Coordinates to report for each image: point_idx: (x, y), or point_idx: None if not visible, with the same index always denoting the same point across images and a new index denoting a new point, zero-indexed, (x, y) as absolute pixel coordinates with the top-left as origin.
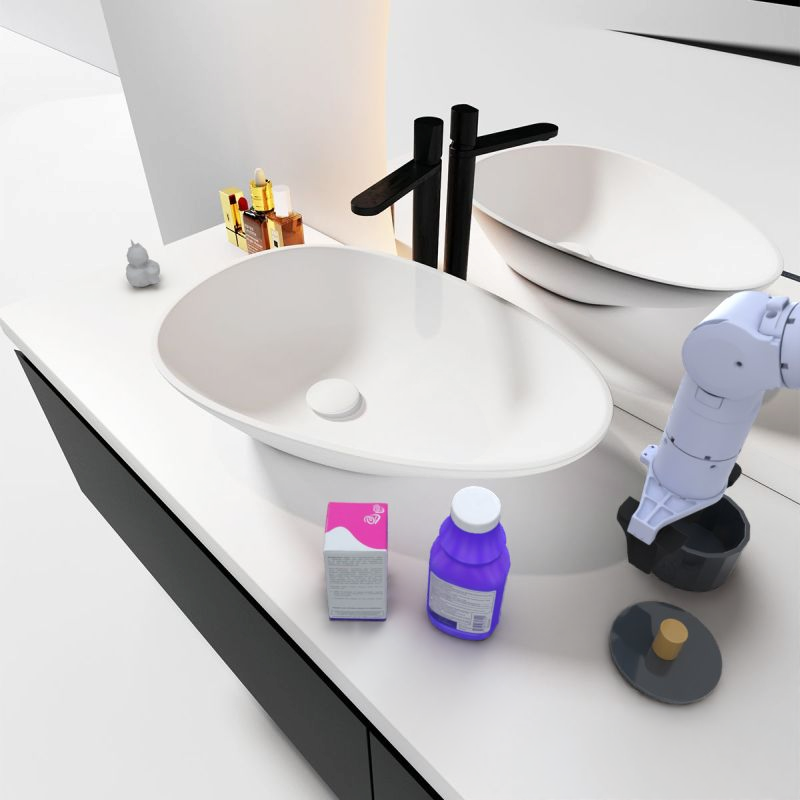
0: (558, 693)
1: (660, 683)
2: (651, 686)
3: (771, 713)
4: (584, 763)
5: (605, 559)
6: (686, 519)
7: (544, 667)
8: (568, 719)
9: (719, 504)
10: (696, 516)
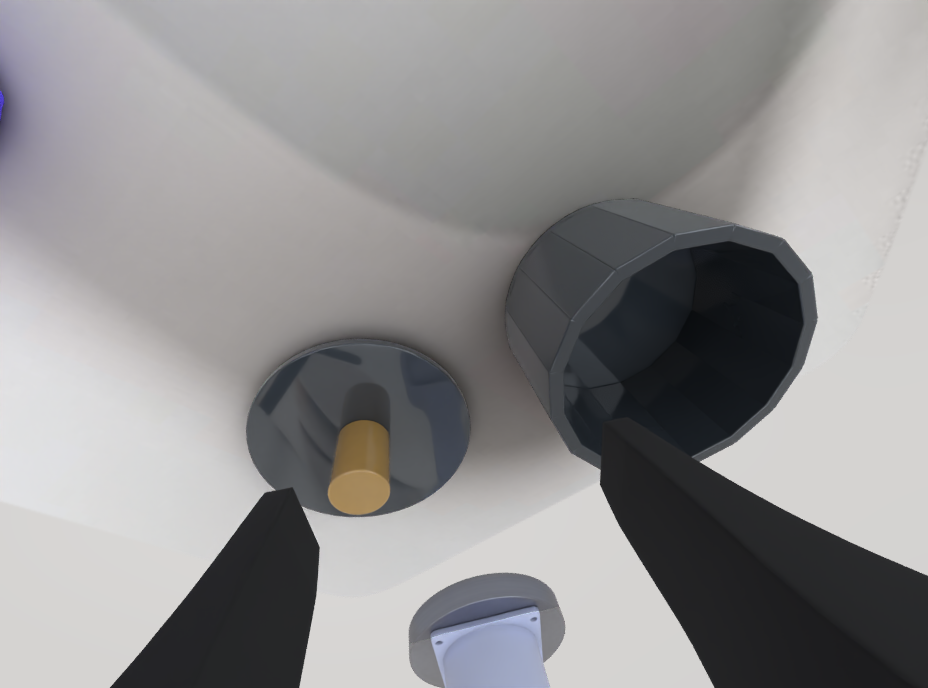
0: (95, 380)
1: (298, 477)
2: (277, 474)
3: (431, 545)
4: (75, 485)
5: (448, 201)
6: (606, 481)
7: (93, 324)
8: (88, 424)
9: (767, 341)
10: (627, 535)
